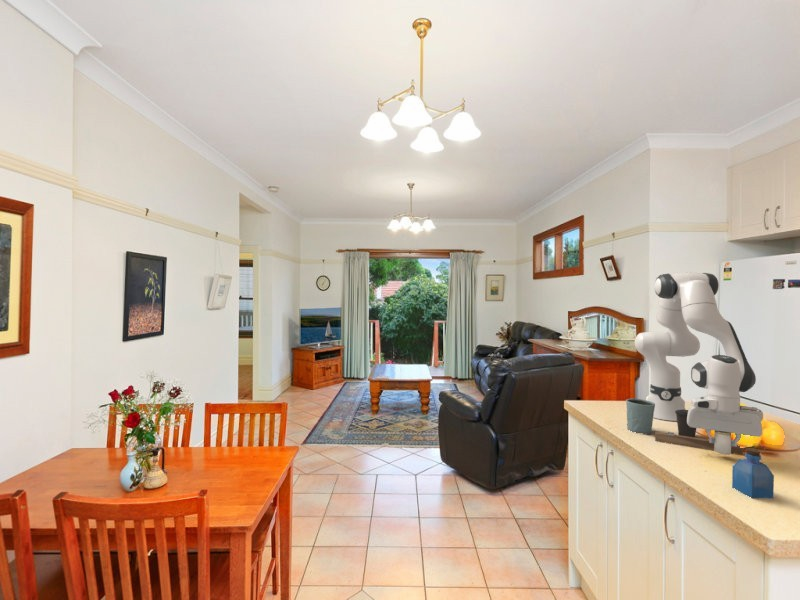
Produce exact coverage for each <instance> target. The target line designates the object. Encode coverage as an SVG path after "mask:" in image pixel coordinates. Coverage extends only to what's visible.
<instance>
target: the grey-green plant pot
mask: <svg viewBox="0 0 800 600" xmlns="http://www.w3.org/2000/svg"><path fill="white" fill-rule="evenodd" d="M625 402H626V422H627V423H626V426H627V427H626V428H627V431H629V430H630V432H631V431H632V432H631V433H634V432H636V433H635V434H638V433H643V434H642V435H650V434H652V432H653V431H652V430H653V421H654V420H653V419H654V418H653V416H654V409H655V403H653V402H651V401H647V400H646V399H641V398H628V399H627V398H626V399H625ZM649 433H650V434H649Z"/></svg>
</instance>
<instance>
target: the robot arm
mask: <svg viewBox="0 0 800 600" xmlns="http://www.w3.org/2000/svg"><path fill="white" fill-rule="evenodd" d="M719 287H720V285H719V280H718V278H717V277H716V275H715V274H713V273H710V272H702V273H701V272H691V271H690V272H688V271H687V272H677V273H676V272H675V273H663V274H660V275H658V276H657V277H656V278H655V282H654V291H655V295H657V296H658V297H659V299H658V300H659V301H658V306H657V312H656V321H657V323H659V324H660V325H661V326H662V327H664V328H666V329H667V330H668V331H646V332H645V331H644V332H638V334H637V335H636V336H635V338H634V346H635V349H636V351H637V352H638V353H640V354H641V355H642V356H643V357H644V358H645V359H646V361H647V362H648V364H649V367H650V372H651V373H650V374H651V375H650V376H651V384H650V386H649V389H650V390H649V392H650V393H649V394H648V395H647V396H646V398H645V400H647V401H651V402H653V403H655V409H654V416H653V419H657V420H663V421H672V422H673V421H674V422H677V416H676V413H675V411H676V410H686V401H685V400H684V399H683V398H682V387H681V371H680V369H679V368H678V367H677V366H675V365H674V364H672V363H670V362H668V361H667V357H682V358H683V357H690V356H695V355H696V354H698V353H699V351H700V348H701V342H700V340H699V338H698V337H697V336H696V335H695V334H693V333H692V332H691V331H690V330H689V328H690V329H693V330H695V331H696V332H699V333H703V334H705V335H708V336H710V337H713V338H715V339H716V340H718V341H719V342H720V344H721V345H722V347H723V350H724V354H725V355H724V354H714V355H711V356H710V357H709V359H708V360H706V361H700V362H696V363H695V364H694V365H693V366H692V367H691V371H690V378H691V380H692V381H691V382H692V383H693V384H695V385H696V386H697V387H698V388H701V389H707V395H704V396H696V397H693V398H691V404H692V405H690V406H688V407H689V408H688V409H687V410H688V414H687V424H688V425H689V426H690V427H694V428H696V429H702V430H704V431H705V433H706V435H707V436H708V440H709V443H715V438H714V436H712V435H711V433H712V431H714V432H715V431H722V432H729V433H735V435H736V437H735V439H734V440H731V446H735V447H737V442H738V441H739V440H740V438H741V434H743V435H750V436H754V437H761V436H762V435H763V426H762V424H763V423H762V421H763V419H764V413H763V410H761V409H759V408H757V407H755V406H747V405H746V406H745V405H741V394H740V393H745V392H748V391H749V390H751V389H752V388H753V387H754V386H755V385H756V383H757V382H756V381H757V378H756V374H755V371H754V369H753V368H752V367H751V365H750V363H749V362H748V359H747V357H746V355H745V352H744V349H743V347H742V345H741V342H740V340H739V337H738V335H737V332H736V330H735V328H734V327H733V324H732V323H731V322H729V321H728V320H726V319H725V318H724V316H722V314H721V313H720V311H719V309H718V308H719V307H718V305H717V301H716V297H715V295H716V294H717V293H718V291H719ZM688 327H689V328H688Z"/></svg>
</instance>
